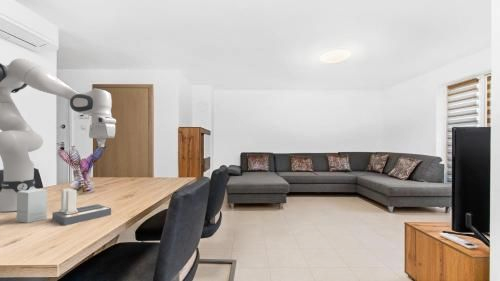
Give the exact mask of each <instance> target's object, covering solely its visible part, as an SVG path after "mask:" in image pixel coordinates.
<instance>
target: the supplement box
mask: <svg viewBox="0 0 500 281" xmlns="http://www.w3.org/2000/svg"><path fill="white" fill-rule="evenodd" d="M47 204H48V189H43V188H42V189H40V188H37V189H31V190H25V191H19V192H17V211H16V222H18V223H19V222H20V223H26V224H28V223H29V224H30V223H33V222H37V221H40V220H43V219H44V220H45V219H47V216H48V215H47V213H48V209H47V207H48V205H47Z"/></svg>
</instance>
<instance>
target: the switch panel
mask: <svg viewBox="0 0 500 281" xmlns="http://www.w3.org/2000/svg"><path fill="white" fill-rule="evenodd" d="M76 210H78V212H77V213H72V214H64V212H60V210H59V211H55V212H52V218H51V219H52V220H53V221H54V222H56V223H58V224H60V225H62V226H69V225H73V224H77V223H81V222H86V221H91V220H94V219H95V220H96V219H99V218H104V217H108V216H111V215H112V207H108V206H104V205H101V204H98V203H95V204H92V205H86V206H80V207H76ZM52 220H51V221H52Z"/></svg>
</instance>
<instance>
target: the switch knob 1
mask: <svg viewBox="0 0 500 281" xmlns="http://www.w3.org/2000/svg"><path fill="white" fill-rule="evenodd" d="M69 190H73V189H72V188H63V189H61V194H60V195H61V198H60V199H61V201H60V209H59V211H60V212H64V211H66V191H69Z"/></svg>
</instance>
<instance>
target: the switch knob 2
mask: <svg viewBox="0 0 500 281" xmlns="http://www.w3.org/2000/svg"><path fill="white" fill-rule="evenodd" d="M77 192H78V191H77V190H76V189H72V190H69V191H66V211H64V214H72V213H77V212H78V210H76V208H77V199H78V198H77V197H78V195H77Z"/></svg>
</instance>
